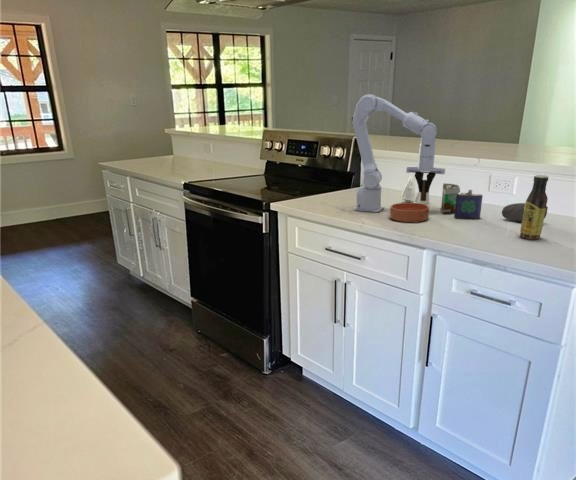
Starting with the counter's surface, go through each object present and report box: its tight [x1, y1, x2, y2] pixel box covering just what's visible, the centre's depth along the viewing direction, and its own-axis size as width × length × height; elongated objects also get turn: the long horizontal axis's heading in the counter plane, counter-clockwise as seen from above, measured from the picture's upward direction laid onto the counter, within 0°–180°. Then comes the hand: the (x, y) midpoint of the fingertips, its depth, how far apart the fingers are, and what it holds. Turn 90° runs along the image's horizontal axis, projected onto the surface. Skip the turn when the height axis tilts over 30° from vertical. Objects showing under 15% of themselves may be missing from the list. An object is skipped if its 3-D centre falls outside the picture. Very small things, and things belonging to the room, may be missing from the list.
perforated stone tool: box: [501, 202, 549, 223], centre depth 182 cm, size 15×5×7 cm, turn 51°
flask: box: [454, 189, 483, 220], centre depth 188 cm, size 9×3×11 cm, turn 74°
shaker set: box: [400, 175, 430, 205], centre depth 215 cm, size 12×4×11 cm, turn 48°
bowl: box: [389, 202, 430, 223], centre depth 192 cm, size 14×14×4 cm
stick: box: [420, 179, 427, 201], centre depth 199 cm, size 2×2×8 cm
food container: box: [440, 182, 461, 215], centre depth 199 cm, size 12×6×10 cm, turn 168°
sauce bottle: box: [519, 174, 549, 240], centre depth 160 cm, size 7×6×20 cm
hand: (423, 191), depth 199 cm, fingers closed on stick, 2 cm apart
